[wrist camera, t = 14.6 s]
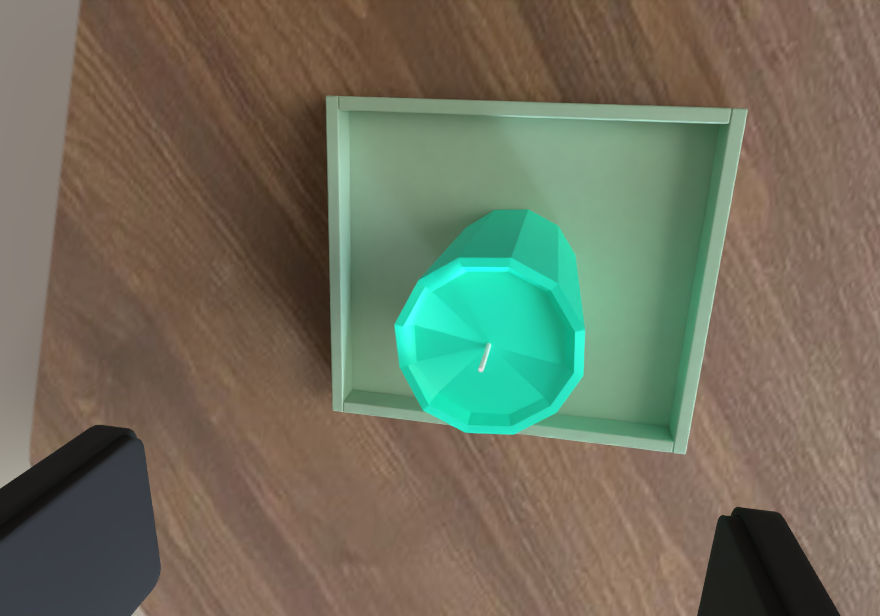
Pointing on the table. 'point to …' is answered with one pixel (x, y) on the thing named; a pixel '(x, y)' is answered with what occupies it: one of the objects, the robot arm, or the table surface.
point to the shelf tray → (556, 199)
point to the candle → (495, 326)
